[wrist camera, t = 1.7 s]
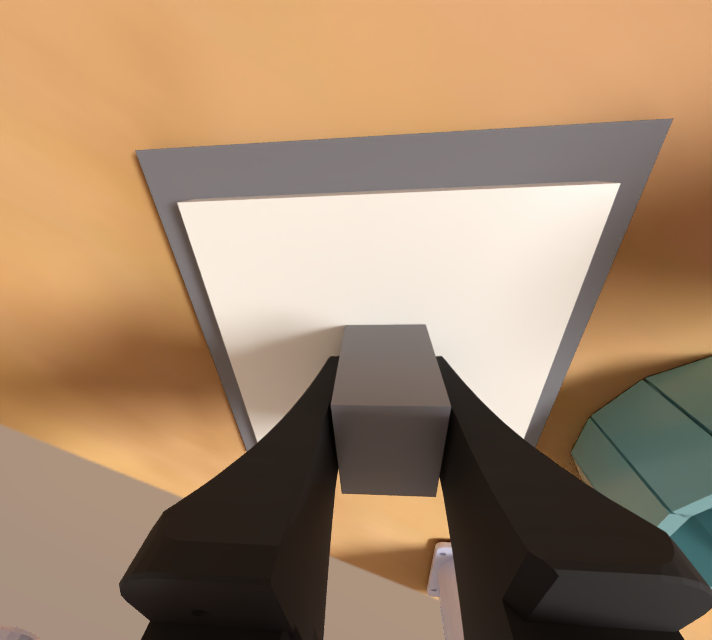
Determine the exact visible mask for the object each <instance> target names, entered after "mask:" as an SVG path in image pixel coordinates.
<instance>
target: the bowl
mask: <svg viewBox="0 0 712 640" xmlns="http://www.w3.org/2000/svg"><path fill="white" fill-rule="evenodd" d="M591 417H592V418H589V419H588V421H587V423H586V425H585V427H584V428H583V430H582V432H581V434H580V436H579V438H578V440H577V442H576V444H575V446H574V448H573V449H572V451H571V453H572V454H571V456H572V458H573V460H574V463H575V465H576V467H577V470H578V472H579V474H580V477H581V479H582V481H583V482H584V483H586V484H587V485H589V486H590V487H592V488H593V489H595V490H597V491H598V492H600V493H601V494H603V495H604V496H606V497H607V498H609V499H611V500H612V501H614V502H616V503H617V504H619V505H621V506H623V507H624V508H626V509H628V510H629V511H631V512H633V513H634V514H636V515H638V516H640V517H641V518H643V519H645V520H646V521H648V522H650V523H651V524H653V525H655V526H657V527H658V528H660V529H662V530H663V531H665V532H666V533H667V534H668V535H669V536H670V537H671V539H672V540H673V541H674V542H675V543H676V544H677V546H678V547H679V548H680V549H681V551H682V552H683V553H684V554H685V555H686V557H687V558H688V559H689V561H690V562H691V563H692V564H693V566H694V567H695V568H696V570H697V571H698V572H699V573H700V575H701V576H702V577H703V579H704V580H705V581H706V582H707V584H708V585H709V586H710V588H711V589H712V356H711V357H708V358H705V359H702V360H699V361H696V362H693V363H690V364H687V365H684V366H681V367H678V368H675V369H671V370H668V371H665V372H662V373H659V374H656V375H653V376H650V377H647V378H646V381H644V380H641V381H639V382H638V383H637V384H635V385H634V386H632V387H631V388H630V389H628V390H627V391H625V392H624V393H622V394H621V395H620V396H618V397H617V398H615V399H614V400H613V401H611V402H610V403H608V404H607V405H605V406H604V407H603V408H601V409H600V410H598V411H597V412H596V413H594V414H593V415H591Z"/></svg>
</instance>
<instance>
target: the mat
mask: <svg viewBox="0 0 712 640" xmlns="http://www.w3.org/2000/svg"><path fill="white" fill-rule="evenodd" d="M672 120H673V119H656V120H639V121H622V122H605V123H588V124H572V125H555V126H538V127H521V128H504V129H487V130H470V131H453V132H436V133H419V134H403V135H386V136H369V137H352V138H335V139H318V140H301V141H284V142H267V143H250V144H234V145H217V146H200V147H183V148H166V149H149V150H135V151H136V154H137V157H138V159H139V162H140V165H141V168H142V170H143V173H144V176H145V178H146V181H147V184H148V186H149V189H150V192H151V194H152V197H153V200H154V202H155V205H156V208H157V211H158V213H159V216H160V219H161V221H162V224H163V227H164V229H165V232H166V235H167V237H168V240H169V243H170V245H171V248H172V251H173V254H174V256H175V259H176V262H177V264H178V267H179V270H180V272H181V275H182V278H183V280H184V283H185V286H186V288H187V291H188V294H189V297H190V299H191V302H192V305H193V307H194V310H195V313H196V315H197V318H198V321H199V323H200V326H201V329H202V331H203V334H204V337H205V339H206V342H207V345H208V348H209V350H210V353H211V356H212V358H213V361H214V364H215V366H216V369H217V372H218V374H219V377H220V380H221V382H222V385H223V388H224V391H225V393H226V396H227V399H228V401H229V404H230V407H231V409H232V412H233V415H234V417H235V420H236V423H237V425H238V428H239V431H240V434H241V436H242V439H243V442H244V444H245V447H246V450H247V451H248V450H249V449H251V448H252V447H253V446H254V445H255V444H256V443H257V439H256V436H255V433H254V430H253V427H252V424H251V422H250V419H249V416H248V413H247V410H246V407H245V404H244V401H243V398H242V395H241V392H240V389H239V386H238V383H237V380H236V377H235V374H234V371H233V368H232V365H231V362H230V359H229V356H228V353H227V350H226V347H225V344H224V341H223V338H222V335H221V332H220V329H219V326H218V323H217V320H216V317H215V314H214V311H213V308H212V305H211V302H210V299H209V296H208V293H207V290H206V287H205V284H204V281H203V278H202V275H201V272H200V269H199V266H198V263H197V260H196V257H195V254H194V252H193V249H192V246H191V243H190V240H189V237H188V234H187V231H186V228H185V225H184V222H183V219H182V216H181V213H180V210H179V207H178V204H177V203H178V202H182V201H187V200H192V199H203V198H225V197H248V196H270V195H293V194H315V193H337V192H360V191H382V190H405V189H427V188H449V187H472V186H494V185H516V184H539V183H561V182H584V181H602V182H613V183H621V184H620V186H619V189H618V192H617V194H616V197H615V199H614V202H613V205H612V207H611V210H610V213H609V215H608V218H607V221H606V223H605V226H604V229H603V231H602V234H601V236H600V239H599V242H598V244H597V247H596V250H595V252H594V255H593V258H592V260H591V263H590V265H589V268H588V271H587V273H586V276H585V279H584V281H583V284H582V287H581V289H580V292H579V295H578V297H577V300H576V302H575V305H574V308H573V310H572V313H571V316H570V318H569V321H568V324H567V326H566V329H565V332H564V334H563V337H562V339H561V342H560V345H559V347H558V350H557V353H556V355H555V358H554V361H553V363H552V366H551V368H550V371H549V374H548V376H547V379H546V382H545V384H544V387H543V390H542V392H541V395H540V398H539V400H538V403H537V405H536V408H535V411H534V413H533V416H532V419H531V421H530V424H529V427H528V429H527V432H526V434H525V437H524V440H526V441H527V442H528V443H529V444H531V445H532V446H533V447H536V445H537V443H538V440H539V438H540V435H541V433H542V431H543V428H544V426H545V423H546V421H547V419H548V416H549V414H550V412H551V409H552V407H553V404H554V402H555V400H556V397H557V395H558V392H559V390H560V388H561V385H562V383H563V381H564V378H565V376H566V373H567V371H568V369H569V366H570V364H571V361H572V359H573V357H574V354H575V352H576V349H577V347H578V345H579V342H580V340H581V338H582V335H583V333H584V330H585V328H586V326H587V323H588V321H589V318H590V316H591V314H592V311H593V309H594V307H595V304H596V302H597V299H598V297H599V295H600V292H601V290H602V287H603V285H604V283H605V280H606V278H607V276H608V273H609V271H610V268H611V266H612V264H613V261H614V259H615V256H616V254H617V252H618V249H619V247H620V245H621V242H622V240H623V237H624V235H625V233H626V230H627V228H628V225H629V223H630V221H631V218H632V216H633V214H634V211H635V209H636V206H637V204H638V202H639V199H640V197H641V194H642V192H643V190H644V187H645V185H646V183H647V180H648V178H649V175H650V173H651V171H652V168H653V166H654V163H655V161H656V159H657V156H658V154H659V152H660V149H661V147H662V144H663V142H664V140H665V137H666V135H667V132H668V130H669V128H670V125H671V123H672Z"/></svg>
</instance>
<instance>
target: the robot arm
mask: <svg viewBox="0 0 712 640" xmlns="http://www.w3.org/2000/svg"><path fill="white" fill-rule="evenodd" d="M339 357H340V356H330V357H329V358H328V359H327V361H326V363H325V364H324V366H323V367H322V369H321V370H320V372H319V373H318V375H317V376H316V378H315V379H314V380H313V382H312V383H311V384H310V386H309V387H308V388H307V390H306V391H305V392H304V394H303V395H302V396H301V397H300V399H299V400H298V401H297V402H296V403H295V404H294V406H293V407H292V408H291V409H290V410H289V411H288V413H287V414H286V415H285V416H284V417H283V418H282V419H281V420H280V421H279V422H278V423H277V424H276V425H275V426H274V427H273V428H272V429H271V430H270V431H269V432H268V433H267V434H266V435H265V436H264V437H263V438H262V439H261V440H259V441H258V442H257V443H256V444H255V445H254V446H253V447H252V448H251V449H249V450H248V451H247V452H246V453H245V454H244V455H242V456H241V457H240V458H239V459H237V460H236V461H235V462H234V463H232V464H231V465H230V466H228V467H227V468H226V469H225V470H223V471H222V472H221V473H219V474H218V475H217V476H216V477H214V478H213V479H211V480H210V481H209V482H207V483H206V484H204V485H203V486H202V487H200V488H199V489H197V490H196V491H194V492H193V493H191V494H190V495H188V496H187V497H185V498H184V499H182V500H181V501H179V502H178V503H176V504H175V505H173V506H172V507H170V508H168V509H167V510H165V511H164V512H163V514H162V515H161V517H160V518H159V520H158V521H157V523H156V524H155V525H154V527H153V528H152V530H151V531H150V533H149V534H148V536H147V538H146V539H145V541H144V543H143V545H142V546H141V548H140V549H139V551H138V553H137V554H136V556H135V558H134V559H133V561H132V563H131V565H130V566H129V568H128V570H127V571H126V573H125V575H124V576H123V578H122V580H121V581H120V583H119V586H120V592H121V596H122V597H123V598H124V599H125V600H126V601H127V602H128V603H129V604H130V605H132V606H133V607H134V608H135V609H136V610H138V611H139V612H140V613H141V614H143V615H144V616H145V617H146V618H147V619H149V620H150V623H149V624H148V626H147V629H146V631H145V633H144V635H143V637H142V639H141V640H323V636H324V619H325V607H326V593H327V579H328V566H329V554H330V542H331V530H332V518H333V508H334V497H335V487H336V480H337V474H338V468H339V467H338V459H337V451H336V443H335V435H334V427H333V419H332V411H331V401H332V395H333V390H334V384H335V379H336V373H337V368H338V362H339ZM436 359H437V362H438V365H439V369H440V372H441V375H442V378H443V382H444V385H445V388H446V391H447V395H448V398H449V401H450V404H451V411H450V416H449V422H448V428H447V434H446V440H445V446H444V452H443V458H442V463H441V469H440V475H439V477H440V481H441V486H442V491H443V496H444V502H445V508H446V515H447V521H448V527H449V534H450V540H451V542H439V543H437V544H436V545H435V550H434V555H433V560H432V565H431V570H430V575H429V580H428V585H427V594H428V595H429V596H433V597H439V601H440V608H441V615H442V622H443V629H444V636H445V640H684V638H683V637H682V635H681V634H680V632H679V630H680V629H682V628H683V627H685V626H687V625H688V624H690V623H692V622H693V621H695V620H696V619H698V618H700V617H701V616H703V615H704V614H706V613H707V612H708V611H709V610H710V609H711V608H712V589H711V588H710V586H709V585H708V584H707V582H706V581H705V580H704V579H703V577H702V576H701V575H700V573H699V572H698V571H697V570H696V568H695V567H694V566H693V564H692V563H691V562H690V561H689V559H688V558H687V557H686V555H685V554H684V553H683V552H682V551H681V549H680V548H679V547H678V546H677V544H676V543H675V542H674V541H673V540H672V539H671V537H670V536H669V535H668V534H667V533H666V532H665V531H663V530H662V529H660V528H658V527H657V526H655V525H653V524H651V523H650V522H648V521H646V520H645V519H643V518H641V517H640V516H638V515H636V514H634V513H633V512H631V511H629V510H628V509H626V508H624V507H623V506H621V505H619V504H617V503H616V502H614V501H612V500H611V499H609V498H607V497H606V496H604V495H603V494H601V493H600V492H598V491H597V490H595V489H593V488H592V487H590V486H589V485H587V484H586V483H584V482H583V481H581V480H580V479H578V478H576V477H575V476H574V475H572V474H571V473H569V472H568V471H566V470H565V469H563V468H562V467H560V466H559V465H558V464H556V463H555V462H554V461H552V460H551V459H549V458H548V457H547V456H545V455H544V454H543V453H541V452H540V451H539V450H537V449H536V448H535V447H533V446H532V445H531V444H529V443H528V442H527V441H526V440H524V439H523V438H522V437H521V436H520V435H518V434H517V433H516V432H515V431H514V430H512V429H511V428H510V427H509V426H508V425H506V424H505V423H504V422H503V421H502V420H501V419H500V418H499V417H498V416H497V415H495V414H494V413H493V412H492V411H491V410H490V409H489V408H488V407H487V406H486V405H485V404H484V403H483V402H482V401H481V400H480V399H479V398H478V397H477V395H476V394H475V393H474V392H473V391H472V390H471V389H470V388H469V387H468V386H467V385H466V384H465V382H464V381H463V380H462V379H461V378H460V377H459V376H458V374H457V373H456V372H455V371H454V370H453V368H452V367H451V366H450V365H449V364H448V362H447V361H446V360H445V359H444V358H443V357H442V356H436ZM0 640H40V638H39V637H38V636H36V635H35V634H33V633H31V632H29V631H26V630H23V629H19V628H15V627H9V626H0Z"/></svg>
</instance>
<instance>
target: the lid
mask: <svg viewBox="0 0 712 640" xmlns="http://www.w3.org/2000/svg"><path fill="white" fill-rule="evenodd" d="M620 184H621V183H613V182H602V181H584V182H561V183H539V184H516V185H494V186H472V187H449V188H427V189H405V190H382V191H360V192H337V193H315V194H293V195H270V196H248V197H225V198H203V199H192V200H187V201H182V202H178V203H177V204H178V207H179V210H180V213H181V216H182V219H183V222H184V225H185V228H186V231H187V234H188V237H189V240H190V243H191V246H192V249H193V252H194V254H195V257H196V260H197V263H198V266H199V269H200V272H201V275H202V278H203V281H204V284H205V287H206V290H207V293H208V296H209V299H210V302H211V305H212V308H213V311H214V314H215V317H216V320H217V323H218V326H219V329H220V332H221V335H222V338H223V341H224V344H225V347H226V350H227V353H228V356H229V359H230V362H231V365H232V368H233V371H234V374H235V377H236V380H237V383H238V386H239V389H240V392H241V395H242V398H243V401H244V404H245V407H246V410H247V413H248V416H249V419H250V422H251V424H252V427H253V430H254V433H255V436H256V439H257V442H258V441H259V440H261V439H262V438H263V437H264V436H265V435H266V434H267V433H268V432H269V431H270V430H271V429H272V428H273V427H274V426H275V425H276V424H277V423H278V422H279V421H280V420H281V419H282V418H283V417H284V416H285V415H286V414H287V413H288V411H289V410H290V409H291V408H292V407H293V406H294V404H295V403H296V402H297V401H298V400H299V399H300V397H301V396H302V395H303V394H304V392H305V391H306V390H307V388H308V387H309V386H310V384H311V383H312V382H313V380H314V379H315V378H316V376H317V375H318V373H319V372H320V370H321V369H322V367H323V366H324V364H325V363H326V361H327V359H328V358H329V357H330V356H340V357H339V362H338V368H337V373H336V379H335V384H334V390H333V395H332V401H331V411H332V419H333V427H334V435H335V443H336V451H337V459H338V467H339V475H340V483H341V491H342V494H369V495H397V496H424V497H436V493H437V487H438V481H439V475H440V469H441V463H442V458H443V452H444V446H445V440H446V434H447V428H448V422H449V416H450V411H451V404H450V401H449V398H448V395H447V391H446V388H445V385H444V382H443V378H442V375H441V372H440V369H439V365H438V362H437V359H436V356H442V357H443V358H444V359H445V360H446V361H447V362H448V364H449V365H450V366H451V367H452V368H453V370H454V371H455V372H456V373H457V374H458V376H459V377H460V378H461V379H462V380H463V381H464V382H465V384H466V385H467V386H468V387H469V388H470V389H471V390H472V391H473V392H474V393H475V394H476V395H477V397H478V398H479V399H480V400H481V401H482V402H483V403H484V404H485V405H486V406H487V407H488V408H489V409H490V410H491V411H492V412H493V413H494V414H495V415H497V416H498V417H499V418H500V419H501V420H502V421H503V422H504V423H505V424H506V425H508V426H509V427H510V428H511V429H512V430H514V431H515V432H516V433H517V434H518V435H520V436H521V437H522V438H523V439H524V437H525V434H526V432H527V429H528V427H529V424H530V421H531V419H532V416H533V413H534V411H535V408H536V405H537V403H538V400H539V398H540V395H541V392H542V390H543V387H544V384H545V382H546V379H547V376H548V374H549V371H550V368H551V366H552V363H553V361H554V358H555V355H556V353H557V350H558V347H559V345H560V342H561V339H562V337H563V334H564V332H565V329H566V326H567V324H568V321H569V318H570V316H571V313H572V310H573V308H574V305H575V302H576V300H577V297H578V295H579V292H580V289H581V287H582V284H583V281H584V279H585V276H586V273H587V271H588V268H589V265H590V263H591V260H592V258H593V255H594V252H595V250H596V247H597V244H598V242H599V239H600V236H601V234H602V231H603V229H604V226H605V223H606V221H607V218H608V215H609V213H610V210H611V207H612V205H613V202H614V199H615V197H616V194H617V192H618V189H619V186H620Z"/></svg>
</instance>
